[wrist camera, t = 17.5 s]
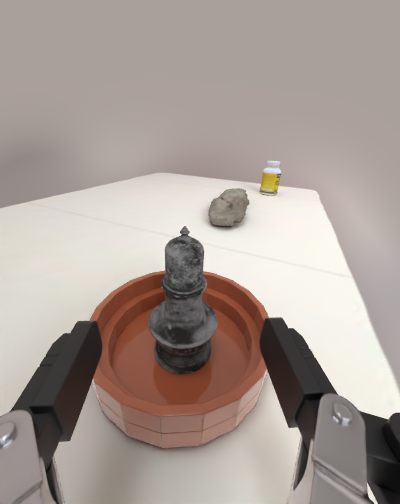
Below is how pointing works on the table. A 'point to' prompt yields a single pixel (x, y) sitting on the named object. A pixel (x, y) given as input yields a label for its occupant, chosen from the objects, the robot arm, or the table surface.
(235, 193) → the long grey stone
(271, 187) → the pill bottle
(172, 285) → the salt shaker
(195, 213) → the table surface
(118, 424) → the bowl
